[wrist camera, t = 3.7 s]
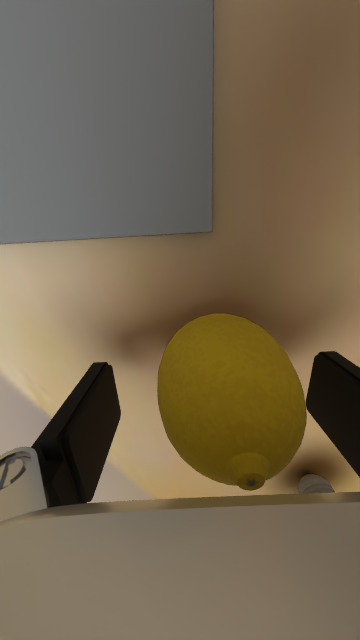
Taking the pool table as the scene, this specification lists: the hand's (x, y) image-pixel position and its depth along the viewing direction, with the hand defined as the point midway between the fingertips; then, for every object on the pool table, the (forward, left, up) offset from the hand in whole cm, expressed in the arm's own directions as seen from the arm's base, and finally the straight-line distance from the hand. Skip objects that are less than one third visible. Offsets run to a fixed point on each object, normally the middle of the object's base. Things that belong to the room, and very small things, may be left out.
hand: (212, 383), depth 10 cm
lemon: (0, -1, -4) cm, 4 cm away
